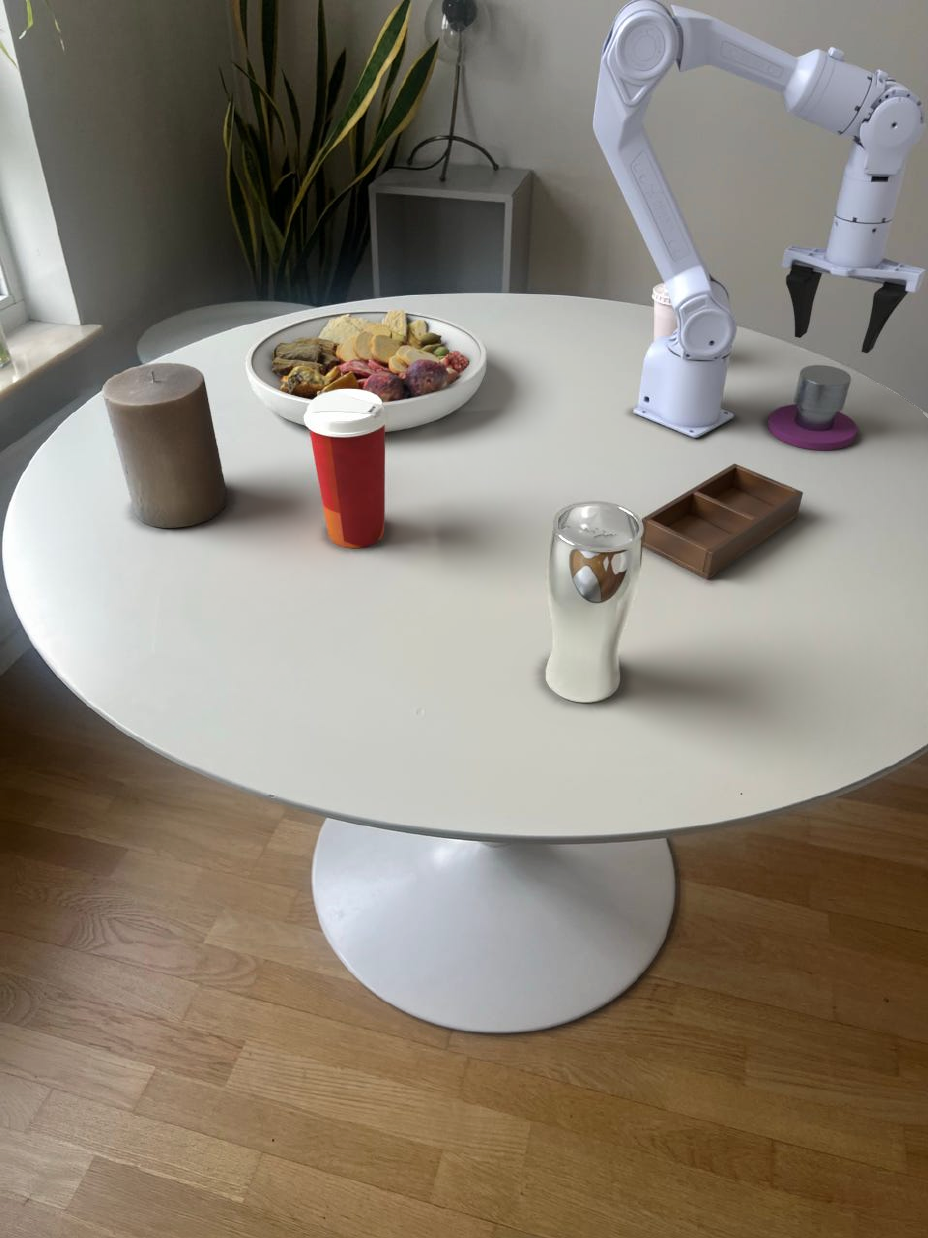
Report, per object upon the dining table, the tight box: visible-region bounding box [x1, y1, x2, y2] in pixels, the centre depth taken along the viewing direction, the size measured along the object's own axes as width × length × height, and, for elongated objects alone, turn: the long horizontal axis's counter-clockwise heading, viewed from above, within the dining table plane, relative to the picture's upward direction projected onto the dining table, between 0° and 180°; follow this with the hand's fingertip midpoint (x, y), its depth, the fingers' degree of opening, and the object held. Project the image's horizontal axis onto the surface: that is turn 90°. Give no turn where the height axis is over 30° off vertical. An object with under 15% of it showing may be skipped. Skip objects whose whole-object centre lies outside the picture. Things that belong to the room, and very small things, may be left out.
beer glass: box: [545, 500, 644, 704], centre depth 72 cm, size 7×7×15 cm
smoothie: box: [651, 282, 678, 342], centre depth 122 cm, size 6×6×14 cm
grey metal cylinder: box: [793, 364, 852, 431], centre depth 108 cm, size 6×6×6 cm
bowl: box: [245, 309, 488, 433], centre depth 117 cm, size 30×30×8 cm
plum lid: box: [767, 403, 858, 451], centre depth 111 cm, size 10×10×1 cm
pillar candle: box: [101, 362, 228, 529], centre depth 93 cm, size 10×10×15 cm
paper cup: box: [304, 389, 388, 549], centre depth 89 cm, size 8×8×14 cm
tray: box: [641, 463, 804, 580], centre depth 93 cm, size 8×16×3 cm, turn 133°
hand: (833, 342), depth 106 cm, fingers open, 7 cm apart
